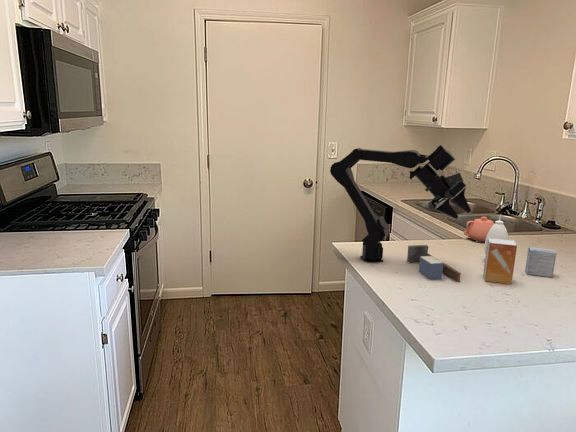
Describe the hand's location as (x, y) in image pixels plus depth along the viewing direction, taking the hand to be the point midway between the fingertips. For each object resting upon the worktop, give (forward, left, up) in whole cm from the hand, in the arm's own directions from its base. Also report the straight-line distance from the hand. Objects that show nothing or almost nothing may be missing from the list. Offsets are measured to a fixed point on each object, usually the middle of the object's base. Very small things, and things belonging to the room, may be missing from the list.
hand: (463, 215), depth 154 cm
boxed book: (-11, -2, -20) cm, 23 cm away
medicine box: (+27, -6, -20) cm, 34 cm away
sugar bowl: (+33, +37, -20) cm, 53 cm away
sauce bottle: (+20, +8, -20) cm, 29 cm away
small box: (+9, -9, -20) cm, 24 cm away
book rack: (-9, +2, -20) cm, 22 cm away
